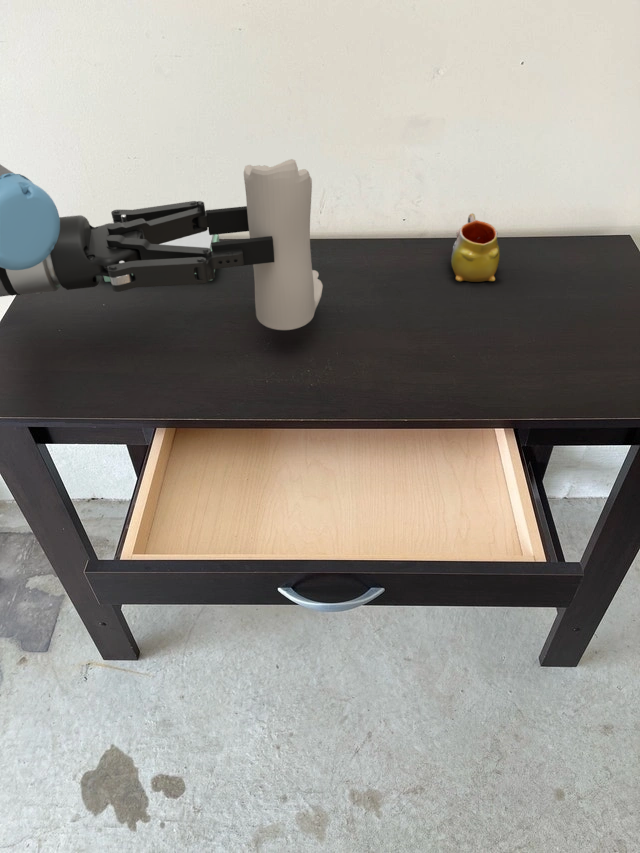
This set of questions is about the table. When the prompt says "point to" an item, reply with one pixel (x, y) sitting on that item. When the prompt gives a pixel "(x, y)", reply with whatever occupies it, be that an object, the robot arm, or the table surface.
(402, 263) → the table surface
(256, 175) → the candle
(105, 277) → the scale
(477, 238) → the mug
